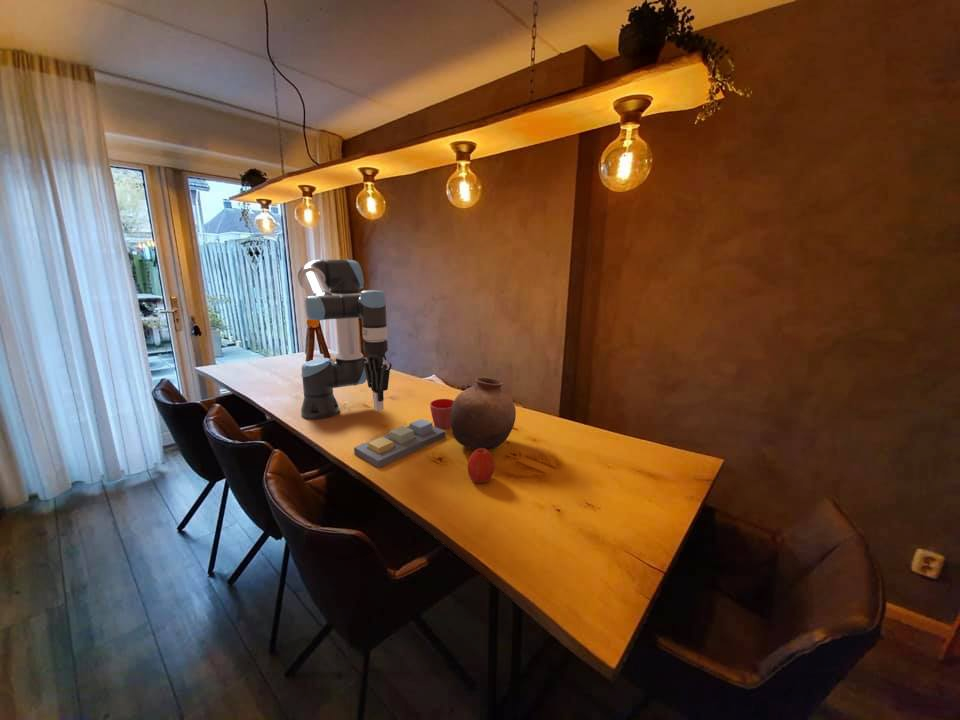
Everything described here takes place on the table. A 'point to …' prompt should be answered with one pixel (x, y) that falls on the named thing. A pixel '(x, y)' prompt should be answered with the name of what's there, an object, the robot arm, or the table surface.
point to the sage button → (401, 435)
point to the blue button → (421, 427)
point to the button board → (398, 448)
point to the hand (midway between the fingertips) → (378, 409)
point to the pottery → (482, 415)
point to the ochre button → (380, 445)
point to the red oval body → (480, 466)
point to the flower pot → (441, 412)
